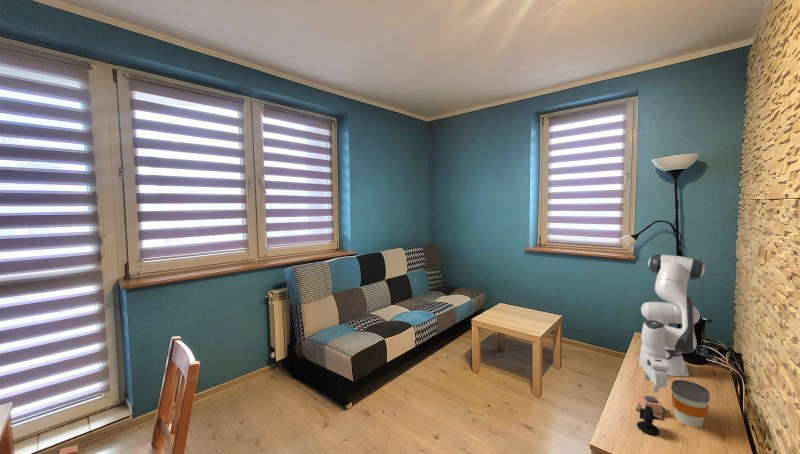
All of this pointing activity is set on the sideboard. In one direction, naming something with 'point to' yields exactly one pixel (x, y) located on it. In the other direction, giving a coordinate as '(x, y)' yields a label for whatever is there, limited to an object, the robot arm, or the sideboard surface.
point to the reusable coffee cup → (690, 402)
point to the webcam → (647, 421)
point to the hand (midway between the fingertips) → (651, 385)
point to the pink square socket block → (651, 404)
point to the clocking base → (652, 400)
